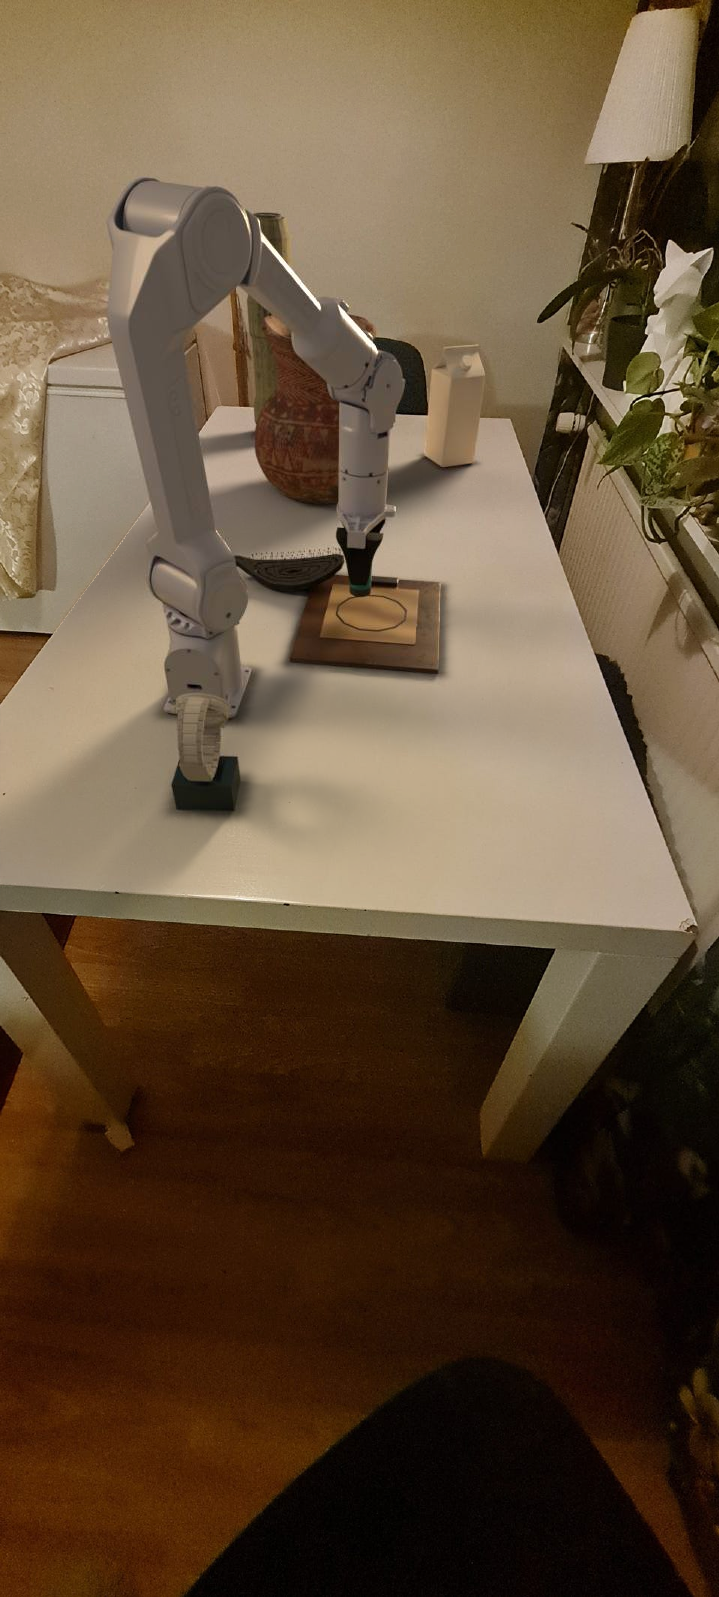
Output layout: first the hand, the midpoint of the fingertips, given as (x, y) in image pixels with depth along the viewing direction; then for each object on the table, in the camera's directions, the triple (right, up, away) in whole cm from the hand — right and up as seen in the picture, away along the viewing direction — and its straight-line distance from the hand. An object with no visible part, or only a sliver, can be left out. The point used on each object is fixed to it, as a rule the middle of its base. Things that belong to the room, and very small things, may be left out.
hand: (359, 577), depth 91 cm
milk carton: (+17, +37, +46) cm, 62 cm away
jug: (-7, +26, +34) cm, 43 cm away
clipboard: (+1, -5, +2) cm, 6 cm away
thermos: (-17, +46, +54) cm, 73 cm away
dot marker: (0, -1, +1) cm, 2 cm away
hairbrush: (-15, +3, +9) cm, 18 cm away
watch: (-15, -28, -22) cm, 39 cm away
